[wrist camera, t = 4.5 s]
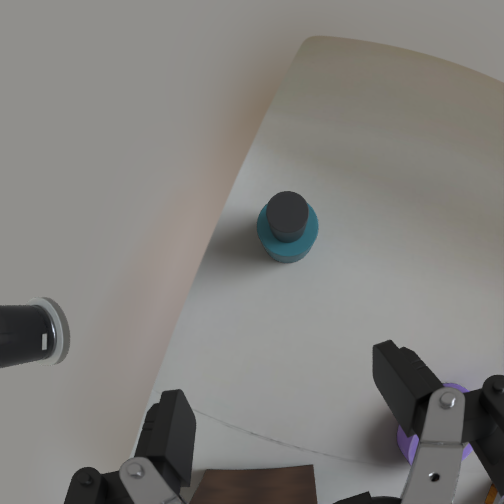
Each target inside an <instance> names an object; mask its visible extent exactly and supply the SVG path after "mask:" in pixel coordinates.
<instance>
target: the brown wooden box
mask: <svg viewBox="0 0 504 504" xmlns="http://www.w3.org/2000/svg"><path fill="white" fill-rule="evenodd" d="M189 504H317V495H316V486H315V477H314V468H313V465H306V466H297V467H287V468H274V469H255V470H211V469H207V470H206V472H205V474H204V476H203V478H202V480H201V482H200V484H199V486H198V488H197V490H196V492H195V494H194V496H193V497H192V499H191V501H190V503H189Z"/></svg>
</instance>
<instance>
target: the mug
mask: <svg viewBox="0 0 504 504" xmlns="http://www.w3.org/2000/svg"><path fill="white" fill-rule="evenodd" d="M500 499H501V496H500V495H499V493H498V491H497V489H496V487H495V485H494V484H492V485H491V488H490V490H489V493H488V495H487V498H486V500H485V503H486V504H498V503H499V501H500Z"/></svg>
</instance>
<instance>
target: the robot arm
mask: <svg viewBox="0 0 504 504" xmlns="http://www.w3.org/2000/svg"><path fill="white" fill-rule="evenodd" d="M56 345H57V332H56V327H55V324H54V321H53V318H52V316H51V315H50V313H49V312H48V311H47V309H46V308H44V307H43V306H41V305H23V306H22V305H18V306H17V305H12V306H11V305H7V306H0V368H3V367H9V366H13V365H18V364H23V363H28V362H33V361H37V360H44V359H48V358H50V357H51V356H52V355H53V354H54V352H55V349H56ZM373 378H374V382H375V384H376V386H377V388H378V390H379V391H380V393H381V394H382V396H383V398H384V399H385V401H386V403H387V404H388V406H389V408H390V409H391V411H392V413H393V414H394V416H395V418H396V419H397V421H398V423H399V424H400V426H401V428H402V429H403V431H404V433H405V435H406V436H407V438H409V437H411V436H413V435H417V436H418V438H419V441H418V445H417V448H416V452H415V455H414V459H413V462H412V465H411V469H410V472H409V475H408V478H407V481H406V483H405V486H404V489H403V491H402V494H401V496H400V498H397V497H389V496H378V497H371V495H370V493H369V491H368V492H365V493H362V494H359V495H356V496H353V497H350V498H346V499H343V500H340V501H337V502H335V503H333V504H452V503H453V499H454V495H455V491H456V486H457V482H458V477H459V472H460V467H461V461H462V455H463V444H462V443H466V442H469V443H470V445H471V447H472V448H473V450H474V451H475V453H476V455H477V456H478V458H479V460H480V461H481V463H482V465H483V466H484V468H485V470H486V471H487V473H488V475H489V477H490V478H491V480H492V482H493V484H494V485H495V487H496V489H497V491H498V493H499V495H500V496H501V499H500V501H499V503H498V504H504V376H503V375H493V376H491V377H489V378H487V379H486V380H485V382H484V384H483V387H482V388H481V389H478V390H474V391H470V392H465V393H462V392H461V391H460V390H458V389H456V388H453V387H445V386H444V385H443V384H442V383H441V381H440V380H439V379H438V378H437V377H436V376H435V375H434V373H433V372H432V371H431V370H430V369H429V368H428V367H427V366H426V364H425V363H424V362H423V361H422V360H421V359H420V358H419V357H418V355H417V354H416V353H415V352H414V351H412V350H410V349H408V348H406V347H402V348H400V349H399V348H398V347H397V346H396V345H395V344H394V343H393V341H392V340H387V341H385V342H382V343H379V344H376V345H374V346H373ZM144 422H145V423H144V424H143V428H142V429H143V430H142V431H141V435H140V438H139V441H138V445H137V448H136V452H135V456H134V458H131V459H129V460H127V461H126V462H124V463H123V465H122V466H121V468H120V470H119V471H115V472H111V473H105V474H100V473H99V472H98V471H97V470H96V469H95V468H92V467H84V468H82V469H79V470H78V471H77V472H76V473H75V474H74V475H73V477H72V479H71V483H70V486H69V489H68V492H67V495H66V498H65V502H64V504H188V503H187V502H186V501H185V500H184V499H183V498H182V496H181V495H180V487H190V480H191V470H192V460H193V451H194V441H195V432H196V419H195V415H194V413H193V411H192V409H191V407H190V405H189V403H188V401H187V399H186V397H185V395H184V393H183V391H182V390H181V389H177V390H169V391H163V392H162V395H161V399H160V402H159V403H155V404H153V406H152V407H151V408H150V409H149V410H148V412H147V414H146V418H145V421H144Z"/></svg>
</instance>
